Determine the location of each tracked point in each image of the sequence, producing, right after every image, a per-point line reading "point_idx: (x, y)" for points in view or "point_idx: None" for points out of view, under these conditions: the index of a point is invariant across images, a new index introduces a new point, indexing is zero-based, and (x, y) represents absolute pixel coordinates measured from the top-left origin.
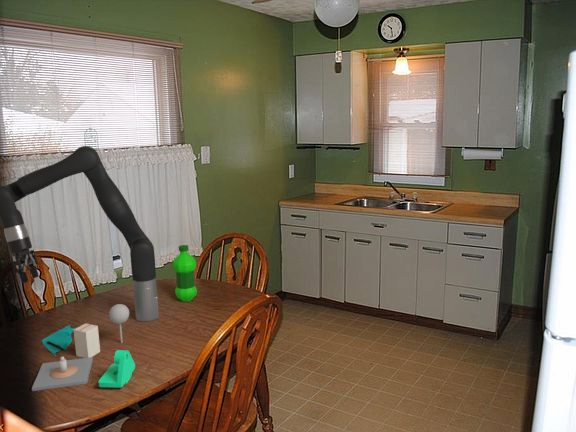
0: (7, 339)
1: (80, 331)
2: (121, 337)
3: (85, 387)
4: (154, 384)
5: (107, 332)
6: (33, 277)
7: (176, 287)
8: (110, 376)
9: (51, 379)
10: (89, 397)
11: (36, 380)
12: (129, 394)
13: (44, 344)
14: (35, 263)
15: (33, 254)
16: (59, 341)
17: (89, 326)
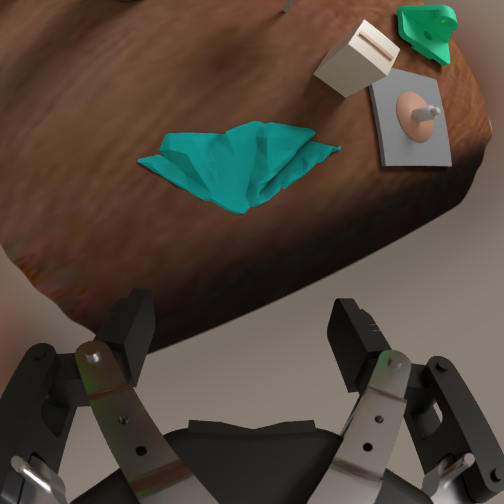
0: (219, 318)
1: (394, 60)
2: (291, 3)
3: (439, 84)
4: (422, 4)
5: (214, 41)
6: (153, 321)
7: None
8: (436, 45)
9: (434, 136)
10: (456, 82)
11: (436, 163)
12: None
13: (271, 195)
14: (80, 370)
15: (20, 461)
16: (278, 149)
17: (368, 36)
